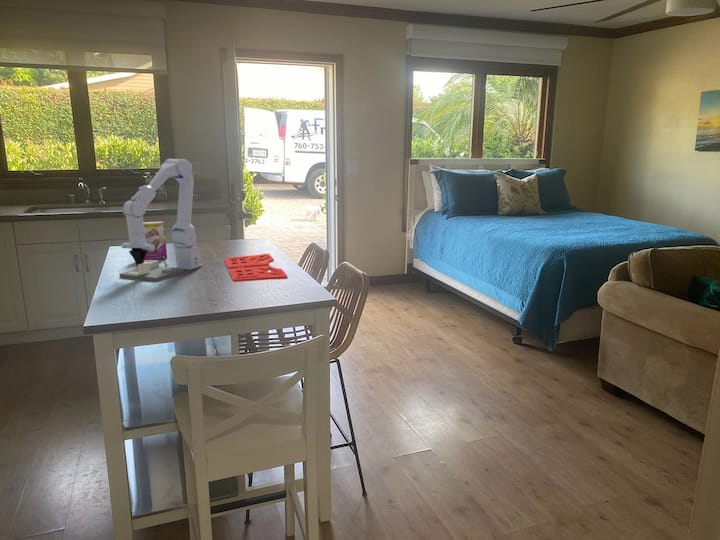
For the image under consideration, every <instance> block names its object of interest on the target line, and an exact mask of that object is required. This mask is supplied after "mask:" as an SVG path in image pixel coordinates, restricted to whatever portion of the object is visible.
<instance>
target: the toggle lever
mask: <svg viewBox="0 0 720 540" xmlns="http://www.w3.org/2000/svg"><path fill="white" fill-rule="evenodd" d="M160 260H161V261H162V262H163V265H164V267H168V264H167V261H166V260H167V259H166V258H165V257H162V258H161V259H160Z"/></svg>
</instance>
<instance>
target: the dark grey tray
mask: <svg viewBox="0 0 720 540" xmlns="http://www.w3.org/2000/svg"><path fill="white" fill-rule="evenodd" d="M149 261H151V262H152V263H150V271H151V272H150V273H146V274H143V275H142V274H139V272H138V267H137V266H136V268H135V269H131V270H128V271H124V272H121V273H119V275H118V276H119V278H121V279H127V278H130V279H129V280H136V279H138V280H137V281H145V280H146V281H147V282H154V281H155V282H160V281H163V280H166V279H169V278H172V277H175V276H177V275H180V274H184V273H183V272H184V269H179V268H172V267H165V266H160V261H159V260H144V262H149Z"/></svg>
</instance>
